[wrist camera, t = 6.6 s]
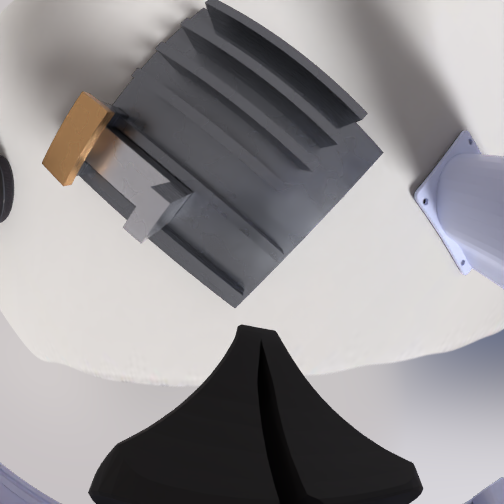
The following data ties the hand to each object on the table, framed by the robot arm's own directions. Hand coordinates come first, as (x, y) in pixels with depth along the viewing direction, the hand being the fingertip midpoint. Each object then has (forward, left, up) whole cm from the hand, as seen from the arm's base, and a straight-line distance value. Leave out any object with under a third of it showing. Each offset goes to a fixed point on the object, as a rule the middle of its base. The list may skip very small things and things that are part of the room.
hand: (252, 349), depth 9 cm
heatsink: (+7, -4, -9) cm, 12 cm away
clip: (+10, 0, -8) cm, 13 cm away
